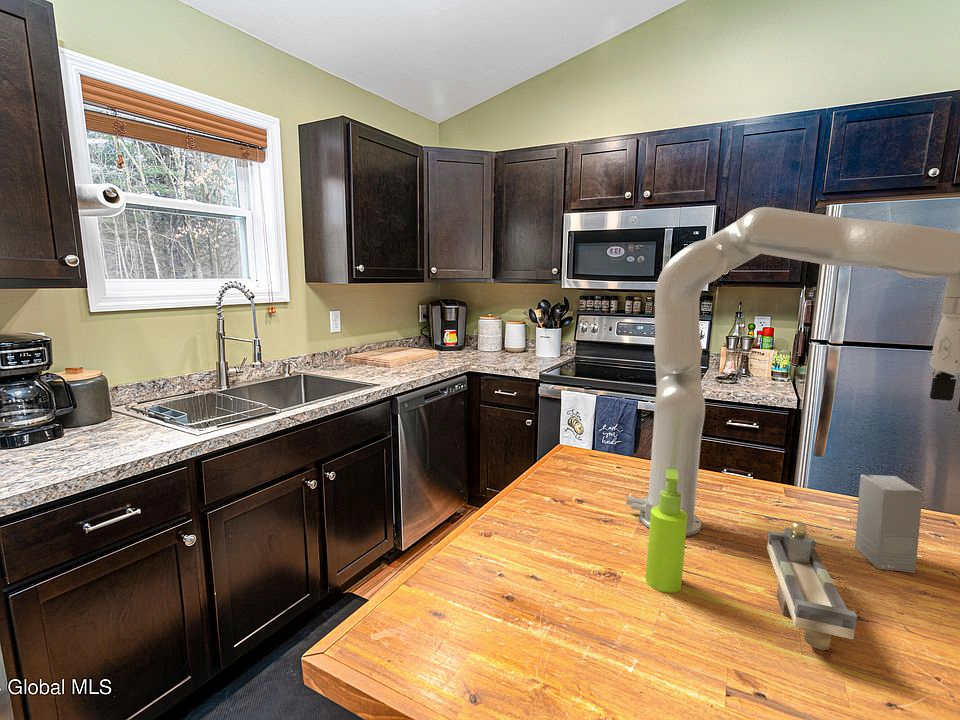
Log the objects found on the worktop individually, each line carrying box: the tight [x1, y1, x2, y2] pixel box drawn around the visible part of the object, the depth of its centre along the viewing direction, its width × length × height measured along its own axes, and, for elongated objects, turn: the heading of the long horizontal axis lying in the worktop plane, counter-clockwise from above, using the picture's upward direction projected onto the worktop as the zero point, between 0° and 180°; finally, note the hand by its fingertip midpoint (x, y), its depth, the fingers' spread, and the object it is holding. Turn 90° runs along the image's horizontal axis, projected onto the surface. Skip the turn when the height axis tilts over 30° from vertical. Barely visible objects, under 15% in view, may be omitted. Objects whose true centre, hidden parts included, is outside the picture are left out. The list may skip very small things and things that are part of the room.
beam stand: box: [766, 530, 858, 651], centre depth 80 cm, size 7×22×8 cm, turn 159°
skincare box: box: [854, 474, 924, 574], centre depth 94 cm, size 8×7×16 cm
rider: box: [782, 520, 812, 564], centre depth 85 cm, size 3×4×6 cm
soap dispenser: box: [645, 468, 688, 593], centre depth 86 cm, size 6×7×20 cm
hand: (954, 405), depth 88 cm, fingers open, 9 cm apart
